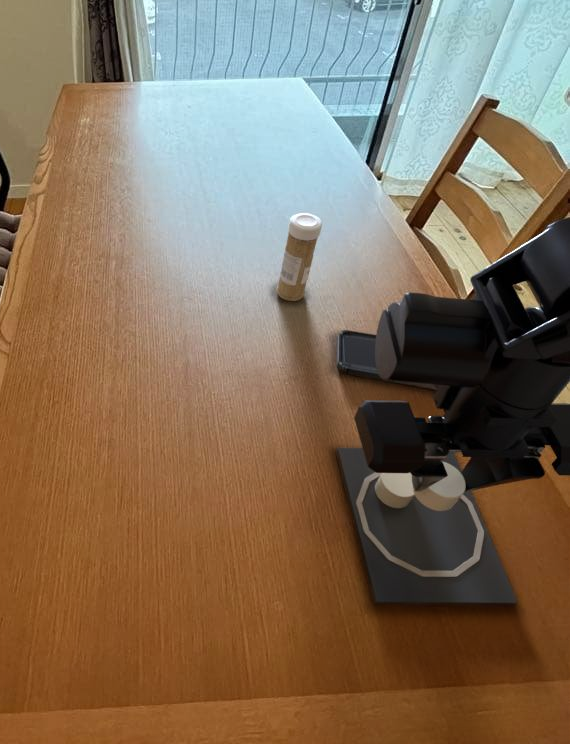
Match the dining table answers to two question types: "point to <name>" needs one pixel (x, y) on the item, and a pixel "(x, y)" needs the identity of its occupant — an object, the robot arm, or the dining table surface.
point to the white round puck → (395, 489)
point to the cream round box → (443, 491)
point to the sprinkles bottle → (298, 255)
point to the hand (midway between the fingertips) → (437, 487)
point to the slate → (422, 546)
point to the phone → (361, 356)
